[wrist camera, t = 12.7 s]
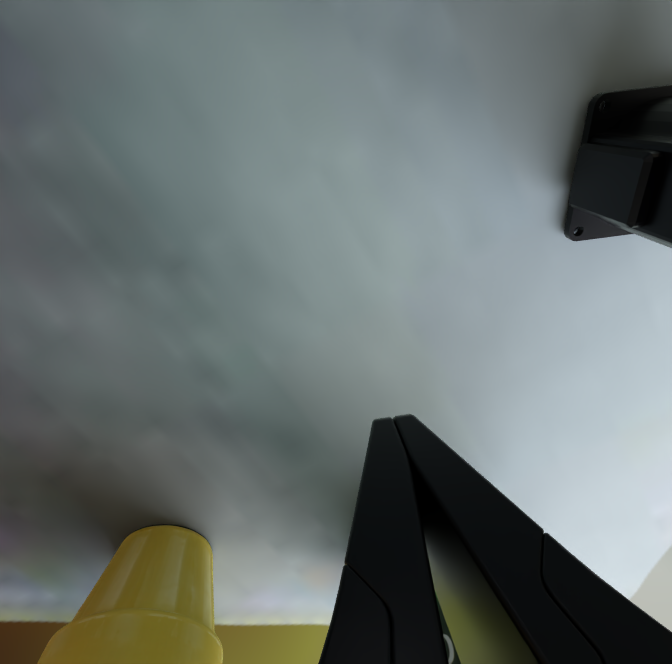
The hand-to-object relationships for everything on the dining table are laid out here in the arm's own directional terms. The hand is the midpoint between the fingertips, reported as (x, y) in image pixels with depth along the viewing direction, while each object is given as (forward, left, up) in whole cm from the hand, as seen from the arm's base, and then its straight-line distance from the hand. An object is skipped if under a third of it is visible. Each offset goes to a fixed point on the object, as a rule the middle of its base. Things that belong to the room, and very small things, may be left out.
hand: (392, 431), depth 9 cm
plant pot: (+15, +22, -13) cm, 30 cm away
